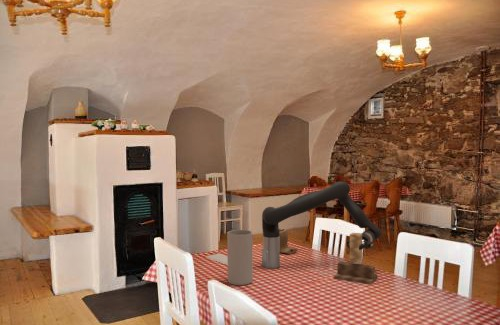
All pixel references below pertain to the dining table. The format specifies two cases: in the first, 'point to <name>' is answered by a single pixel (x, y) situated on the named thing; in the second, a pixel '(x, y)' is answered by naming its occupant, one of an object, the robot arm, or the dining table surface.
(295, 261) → the dining table surface
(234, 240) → the cylinder vase
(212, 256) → the baseboard
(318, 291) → the dining table surface
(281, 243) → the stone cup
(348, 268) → the walnut ridge
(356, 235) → the tan tall block
